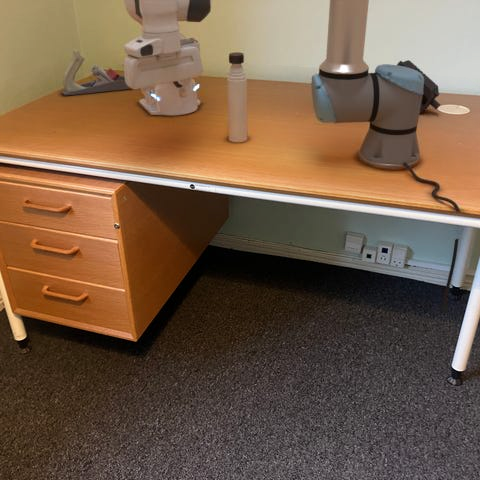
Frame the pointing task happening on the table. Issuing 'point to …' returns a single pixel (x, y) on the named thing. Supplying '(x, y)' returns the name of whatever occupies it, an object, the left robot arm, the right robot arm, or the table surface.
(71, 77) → the hand plane
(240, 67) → the bottle
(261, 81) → the table surface
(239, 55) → the cap
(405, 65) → the tool
